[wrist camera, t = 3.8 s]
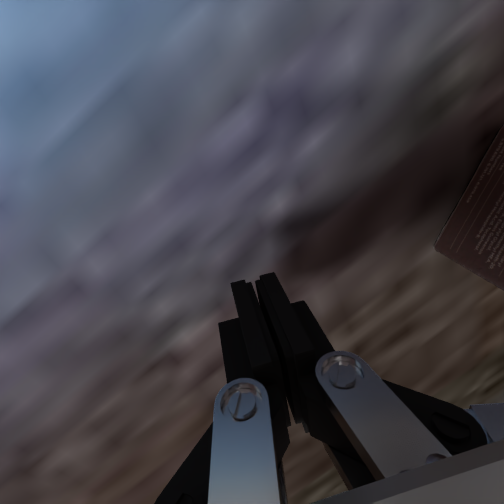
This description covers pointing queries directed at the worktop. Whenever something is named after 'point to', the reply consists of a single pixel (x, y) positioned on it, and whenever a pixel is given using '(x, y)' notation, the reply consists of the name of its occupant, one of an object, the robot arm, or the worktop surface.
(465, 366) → the worktop surface
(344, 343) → the worktop surface
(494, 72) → the worktop surface
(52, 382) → the worktop surface
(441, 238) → the box
